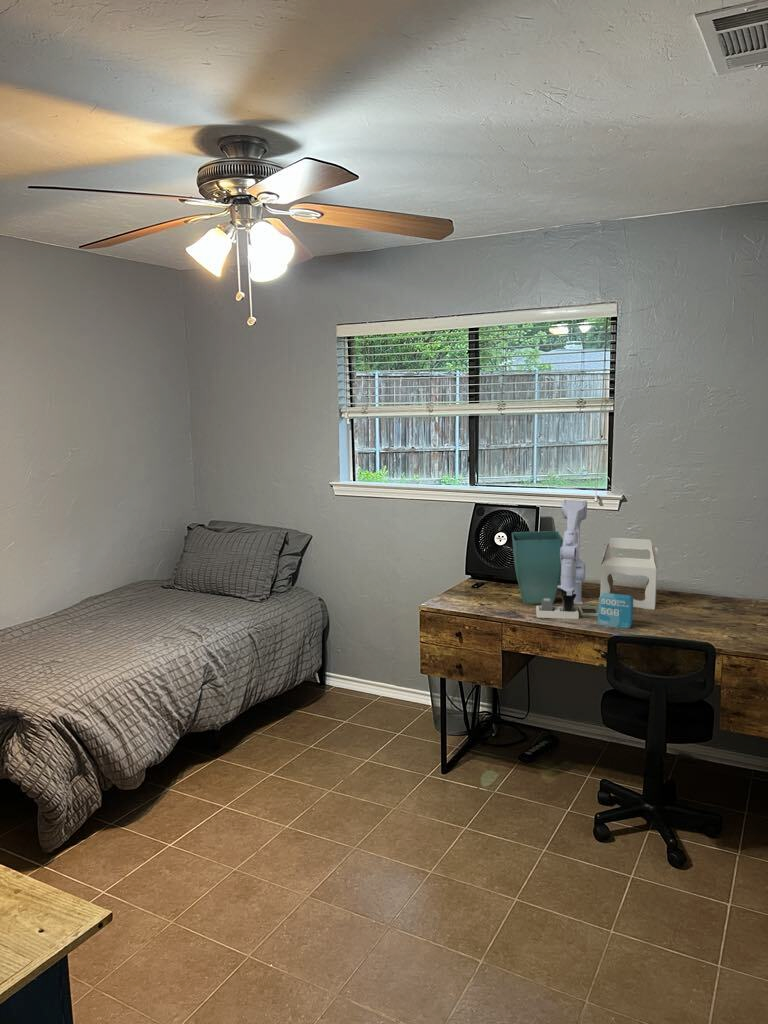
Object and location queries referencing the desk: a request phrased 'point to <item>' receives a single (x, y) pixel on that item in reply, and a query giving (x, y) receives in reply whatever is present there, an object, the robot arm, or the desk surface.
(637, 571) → the gable box
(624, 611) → the data package
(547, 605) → the twin plug
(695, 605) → the desk surface
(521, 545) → the flower pot
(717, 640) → the desk surface
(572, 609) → the plug
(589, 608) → the tray
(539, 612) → the cream shallow box
